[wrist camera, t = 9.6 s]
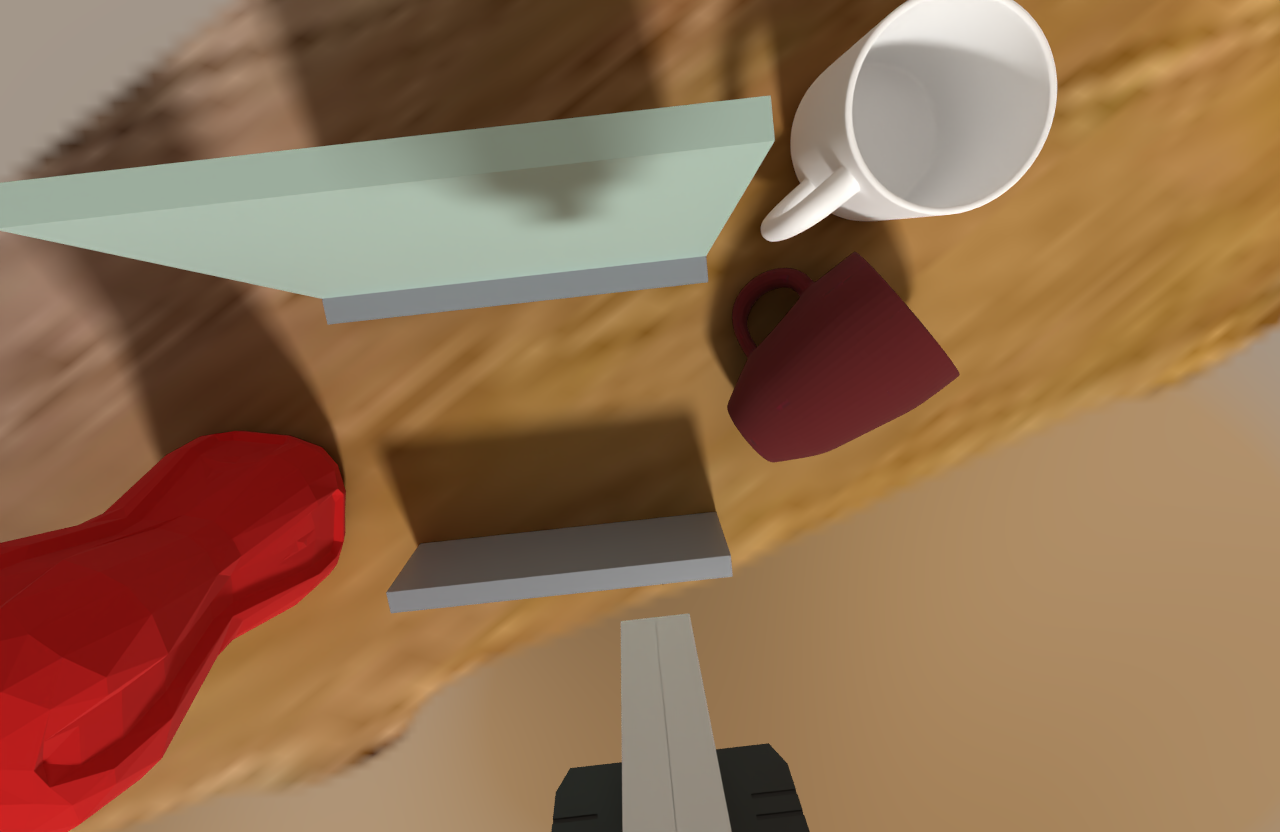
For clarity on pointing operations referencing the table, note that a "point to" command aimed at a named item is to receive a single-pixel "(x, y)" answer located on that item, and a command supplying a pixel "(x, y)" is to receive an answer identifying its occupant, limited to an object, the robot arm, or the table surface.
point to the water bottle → (148, 613)
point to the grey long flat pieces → (557, 553)
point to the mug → (831, 362)
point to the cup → (921, 117)
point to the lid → (422, 202)
